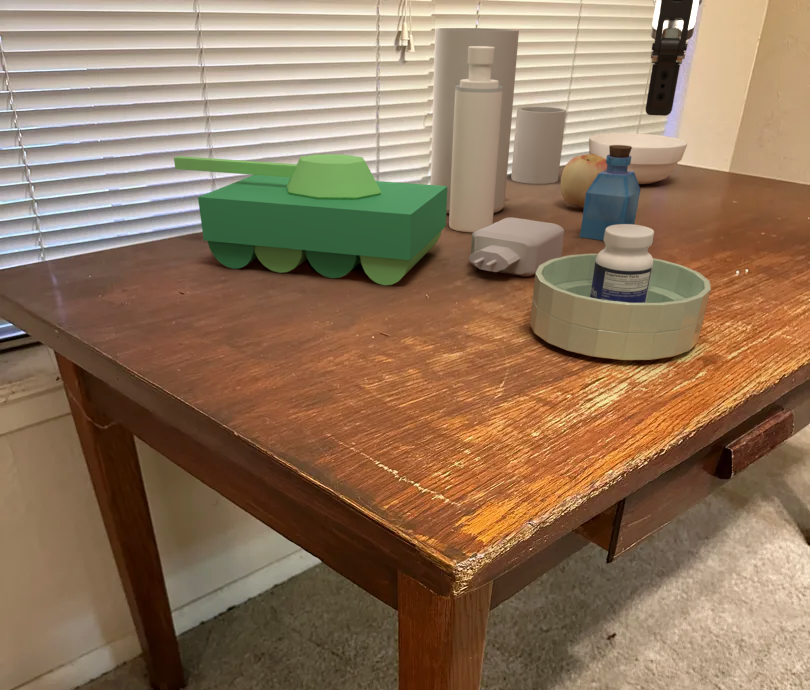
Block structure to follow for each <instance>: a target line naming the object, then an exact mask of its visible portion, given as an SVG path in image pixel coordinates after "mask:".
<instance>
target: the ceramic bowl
mask: <svg viewBox="0 0 810 690" xmlns="http://www.w3.org/2000/svg"><path fill="white" fill-rule="evenodd" d="M597 255H598V253H579V254H569V255H564V256H561V257H559V258H555V259H551V260H549V261H547V262H545V263H543V264H541V265H539V267H538V269H537V271H536V273H535V274H534V283H533V292H532V301H531V309H530V316H529V317H530V318H529V325H530V327H531V329H532V331H533V333H534V334H535V335H536V336H537V337H539V338H540V339H542V340H543V341H545V342H546V343H548V344H550V345H551V346H554V347H557V348H560V349H563V350H565V351H568V352H572V353H576V354H581V355H585V356H588V357H594V358H601V359H611V360H620V361H652V360H659V359H665V358H673V357H676V356H678V355H681V354H683V353H686V352H690V351H691V350H692V349H693V348H694V346H696V344H698V342H699V339H700V335H701V332H702V327H703V323H704V320H705V315H706V311H707V307H708V304H709V303H708V302H709V299H710V295H711V291H712V287H711V281H710V280H709V279H708V278H707V277H706V276H705V275H703V274H702V273H701V272H699V271H696V270H695V269H691V268H689V267H687V266H685V265H682V264H678V263H675V262H671V261H669V260H668V261H667V260H664V259H660V258H654V257H652V258H653V269H652V273H651V279H650V284H649V289H648V294H647V300H646V303H628V302H618V301H608V300H601V299H596V298H591V297H590V293H591V287H592V280H593V274H594V267H595V261H596V257H597Z"/></svg>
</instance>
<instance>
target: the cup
mask: <svg viewBox="0 0 810 690" xmlns="http://www.w3.org/2000/svg"><path fill="white" fill-rule="evenodd" d="M566 115H567V109H565V108H560V107H551V106H523V107H517V108H516V117H515V129H514V140H513V150H512V151H513V153H512V163H511V174H510V175H511V176H510V180H512V181H513V182H517V183H521V184H531V185H546V184H547V185H549V184H555V183H557V182H558V181H559V173H560V167H561V158H562V150H563V140H564V134H565V125H566Z"/></svg>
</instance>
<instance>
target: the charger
mask: <svg viewBox="0 0 810 690" xmlns="http://www.w3.org/2000/svg"><path fill="white" fill-rule="evenodd" d="M564 237H565V228H563V227H562V226H561V225H560V224H557V223H554V222H553V223H552V222H545V221H540V220H532V219H527V218H519V217H512V216H511V217H505V218H503V219H500V220H498V221H496V222H493V224H491V225H489V226H487V227H485V228H482V229H480V230H478V231H476V232H474V233H472V234H471V240H470V241H471V243H470V255H468V260H469V262H470V263H471V265H473V267H475V268H478V269H479V270H483V271H487V272H492V273H501V274H508V275H513V276H519V277H531V276H534V275H535V273H536V271H537V269H538V267H539V265H541V264H543V263H545V262H547V261H549V260H551V259H555V258H559V257H562V255H563V247H564V239H565V238H564Z"/></svg>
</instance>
